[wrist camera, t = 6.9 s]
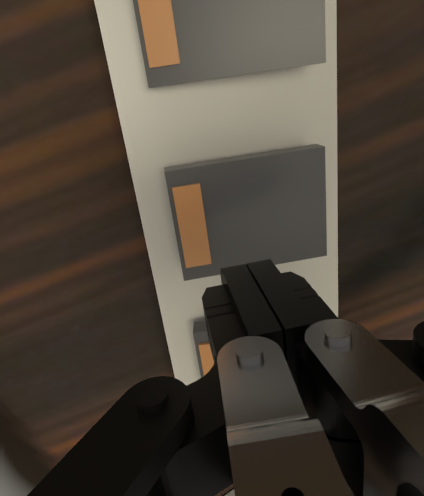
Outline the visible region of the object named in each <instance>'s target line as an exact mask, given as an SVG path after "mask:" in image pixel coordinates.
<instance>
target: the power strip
mask: <svg viewBox="0 0 424 496" xmlns="http://www.w3.org/2000/svg"><path fill="white" fill-rule="evenodd" d="M94 2H95V7H96V11H97V16H98V21H99V25H100V30H101V35H102V39H103V44H104V49H105V53H106V58H107V63H108V67H109V72H110V77H111V81H112V86H113V91H114V95H115V100H116V105H117V109H118V114H119V119H120V123H121V128H122V133H123V138H124V142H125V147H126V152H127V156H128V161H129V166H130V170H131V175H132V180H133V184H134V189H135V194H136V198H137V203H138V208H139V212H140V217H141V222H142V226H143V231H144V236H145V240H146V245H147V250H148V254H149V259H150V264H151V268H152V273H153V278H154V282H155V287H156V292H157V296H158V301H159V306H160V310H161V315H162V320H163V324H164V329H165V334H166V338H167V343H168V348H169V353H170V357H171V362H172V367H173V371H174V376H175V378H176V379H178V380H180V381H182V382H183V383H184V384H185V385H186V386H187V385H189V384H191V383H193V382H195V381H197V380H198V379H200V378H201V375H200V370H199V364H198V359H197V353H196V348H195V342H194V337H193V326H194V322H196V321H205V315H204V309H203V303H202V296H203V294H204V292H205V290H206V288H208V287H213V286H218V285H222V283H221V276H220V275H215V276H209V277H204V278H198V279H192V280H187V281H184V278H183V273H182V267H181V262H180V256H179V250H178V245H177V239H176V234H175V228H174V223H173V217H172V212H171V206H170V201H169V195H168V189H167V184H166V178H165V173H164V167H171V166H177V165H183V164H190V163H196V162H203V161H209V160H215V159H222V158H228V157H235V156H241V155H247V154H254V153H260V152H267V151H273V150H279V149H286V148H292V147H298V146H305V145H311V144H319V145H322V146H325V169H326V227H327V256H322V257H316V258H311V259H305V260H299V261H294V262H288V263H282V264H277V265H275V266H276V267H277V269H278V270H279V271H280V273H285V272H290V271H291V272H293V273H295V274H297V275H299V276H301V277H304V278H305V279H306V281H307V282H308V283H309V284H310V285H311V287H312V289H314V290H315V291H316V292H317V294H318V296H320V297H321V298H322V299H323V301H324V302H325V303H326V304H327V305H328V307H329V308H330V309H331V310H332V311H333V312H334V314H335V315H336V316H337V317H338V196H337V13H336V0H325V30H326V63H321V64H314V65H307V66H300V67H293V68H286V69H279V70H273V71H266V72H259V73H252V74H245V75H238V76H231V77H224V78H217V79H210V80H203V81H196V82H189V83H182V84H175V85H168V86H161V87H154V88H148V82H147V77H146V71H145V65H144V60H143V54H142V49H141V43H140V38H139V32H138V27H137V21H136V16H135V10H134V5H133V0H94ZM307 415H308V414H307ZM308 417H309V416H308Z"/></svg>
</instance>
